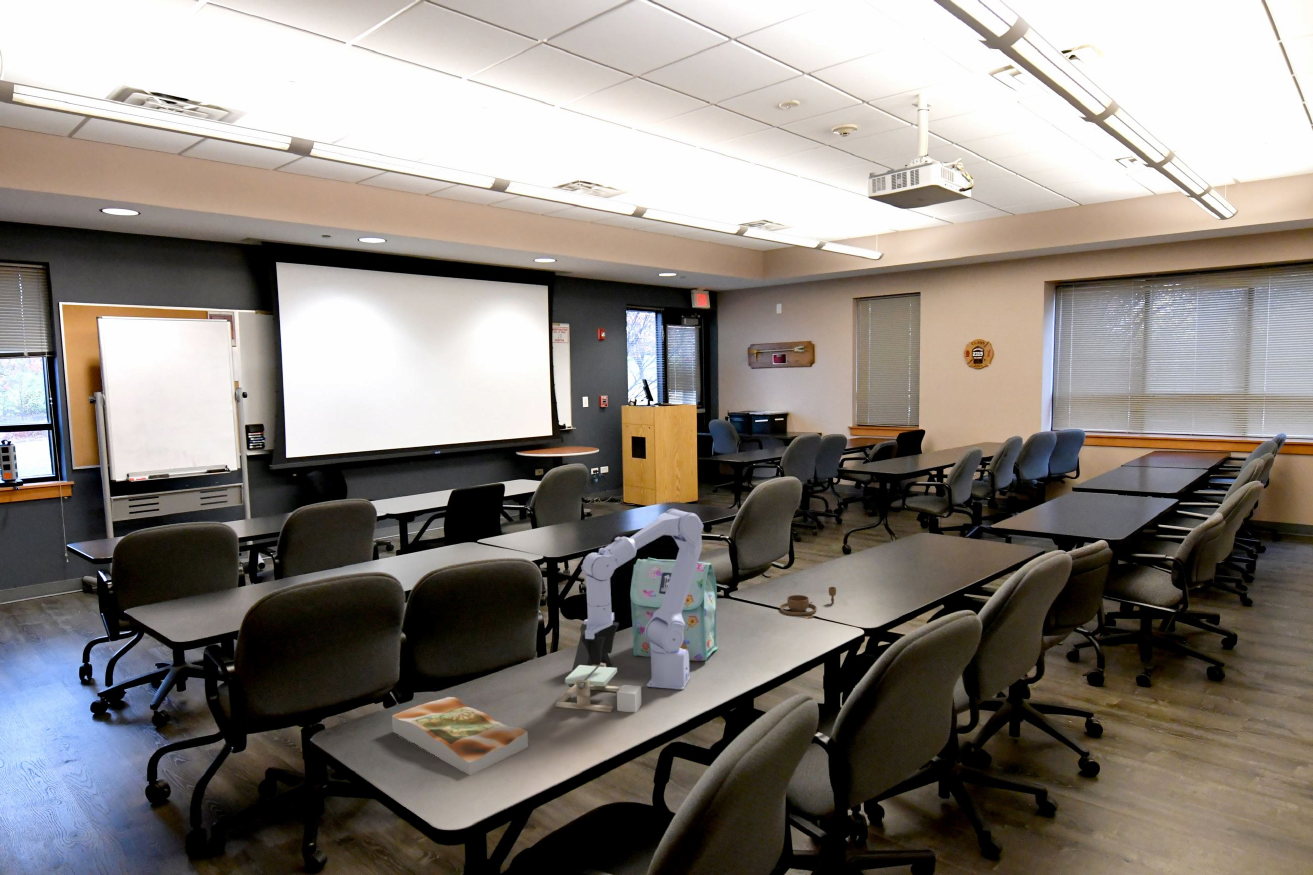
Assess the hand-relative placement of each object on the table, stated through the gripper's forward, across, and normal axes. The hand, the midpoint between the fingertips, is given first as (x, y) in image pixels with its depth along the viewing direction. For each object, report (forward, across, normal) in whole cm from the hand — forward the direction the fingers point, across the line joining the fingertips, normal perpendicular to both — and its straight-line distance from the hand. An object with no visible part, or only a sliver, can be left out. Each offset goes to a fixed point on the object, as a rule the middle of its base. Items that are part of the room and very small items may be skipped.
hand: (601, 658), depth 180 cm
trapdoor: (+6, 0, -3) cm, 7 cm away
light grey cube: (+10, +3, +8) cm, 13 cm away
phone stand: (+10, -18, -10) cm, 23 cm away
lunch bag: (+10, -34, +9) cm, 37 cm away
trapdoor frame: (+10, 0, -3) cm, 11 cm away
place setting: (+11, -80, +43) cm, 92 cm away
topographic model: (+11, +26, -24) cm, 37 cm away
